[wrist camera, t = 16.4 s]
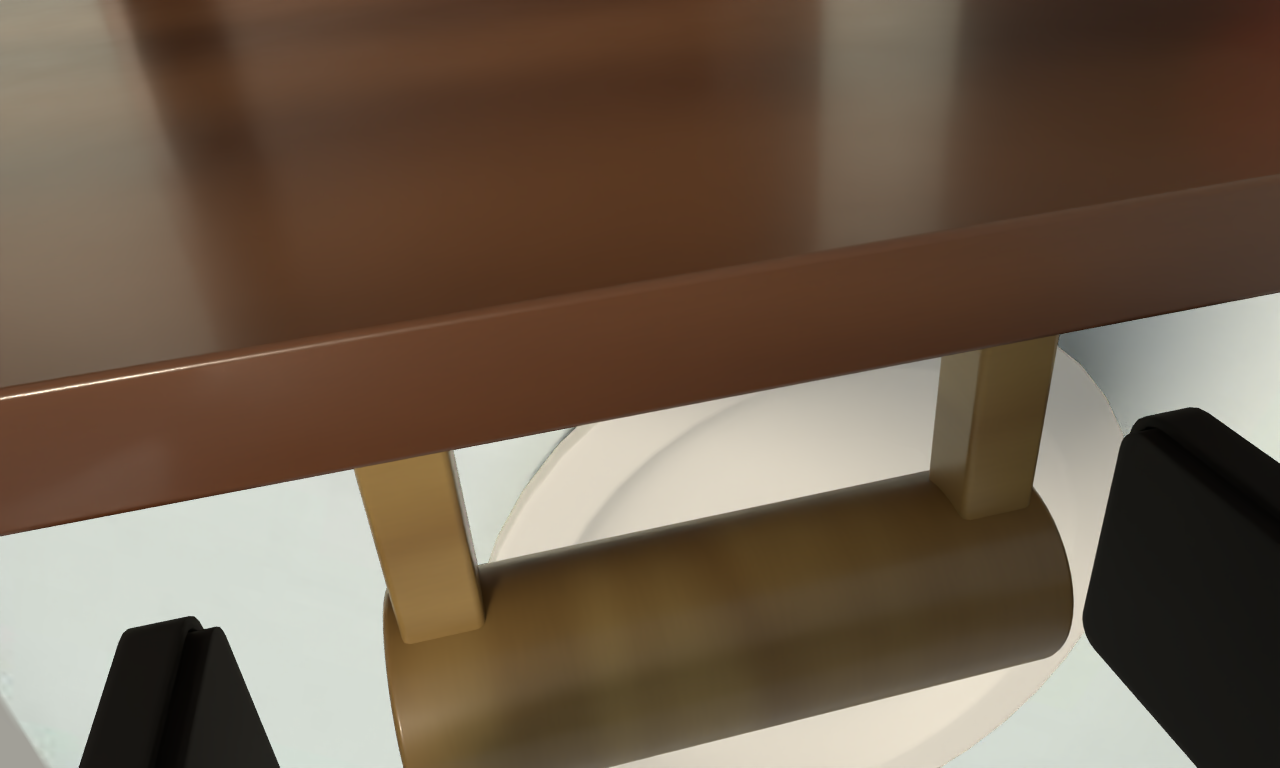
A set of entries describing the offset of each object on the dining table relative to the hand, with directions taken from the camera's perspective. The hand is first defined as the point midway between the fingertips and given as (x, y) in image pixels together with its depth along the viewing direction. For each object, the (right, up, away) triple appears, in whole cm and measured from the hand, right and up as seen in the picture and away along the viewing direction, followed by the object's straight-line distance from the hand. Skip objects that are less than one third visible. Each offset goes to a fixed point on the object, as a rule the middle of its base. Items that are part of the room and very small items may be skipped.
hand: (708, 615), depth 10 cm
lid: (-2, +8, +3) cm, 9 cm away
